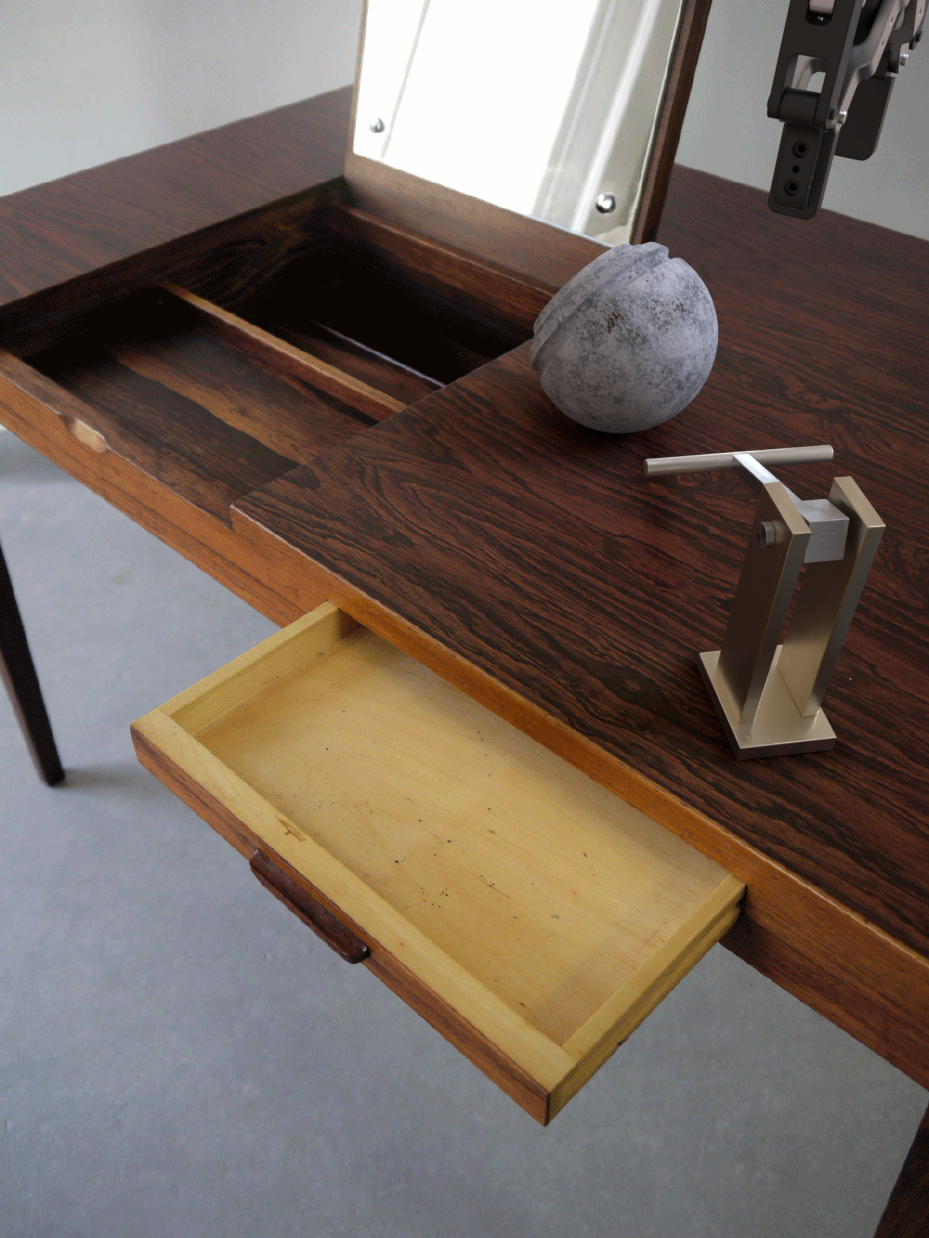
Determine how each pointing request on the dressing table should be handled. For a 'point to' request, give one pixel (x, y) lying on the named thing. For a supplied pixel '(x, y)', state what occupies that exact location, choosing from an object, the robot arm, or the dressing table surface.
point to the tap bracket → (802, 666)
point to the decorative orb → (626, 340)
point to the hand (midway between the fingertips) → (822, 183)
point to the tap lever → (749, 467)
